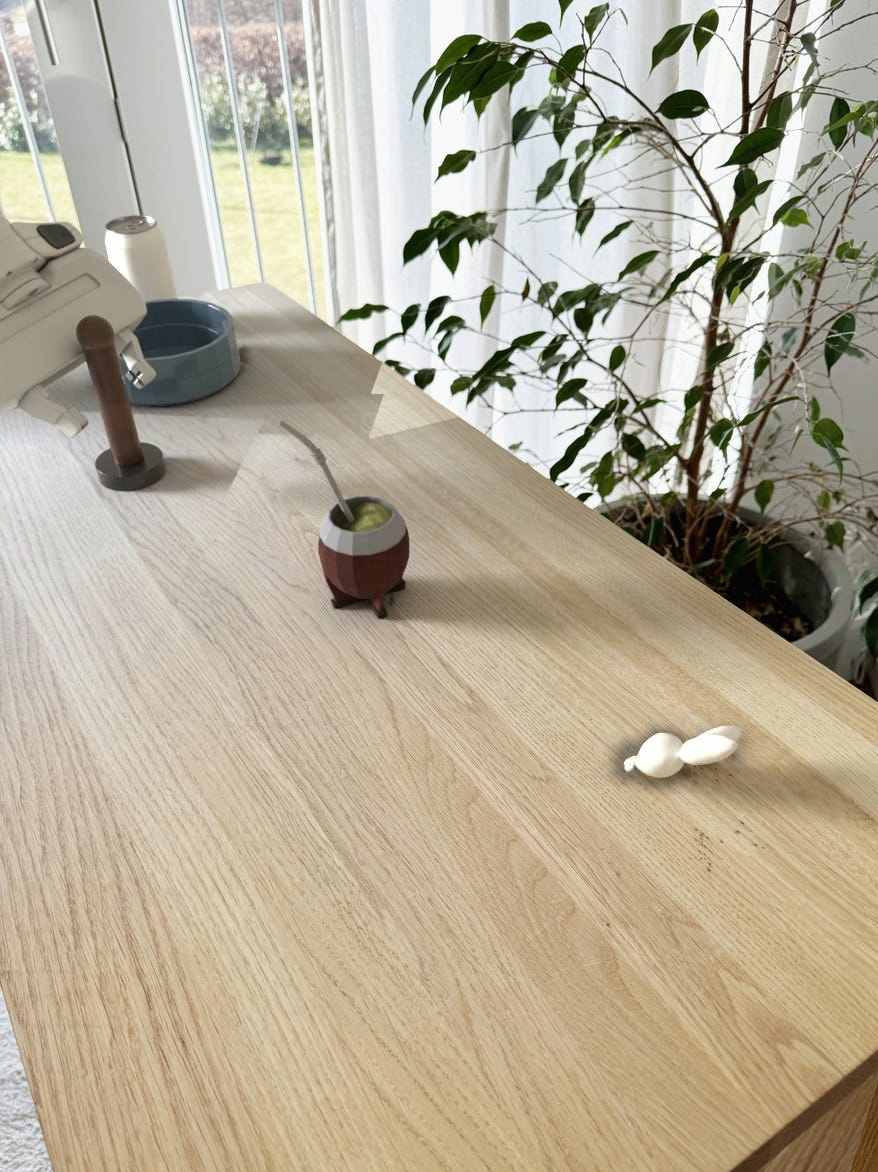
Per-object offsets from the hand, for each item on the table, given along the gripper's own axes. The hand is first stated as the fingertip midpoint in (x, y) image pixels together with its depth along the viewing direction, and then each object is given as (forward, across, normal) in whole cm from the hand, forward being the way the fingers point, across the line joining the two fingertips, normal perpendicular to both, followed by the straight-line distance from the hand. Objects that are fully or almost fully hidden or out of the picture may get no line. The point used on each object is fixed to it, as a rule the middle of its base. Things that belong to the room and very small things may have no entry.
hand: (116, 405), depth 87 cm
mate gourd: (+25, -6, -12) cm, 29 cm away
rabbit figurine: (+46, -15, -32) cm, 58 cm away
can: (-8, +30, +20) cm, 37 cm away
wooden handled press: (+6, 0, +7) cm, 9 cm away
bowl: (-2, +20, +14) cm, 25 cm away
